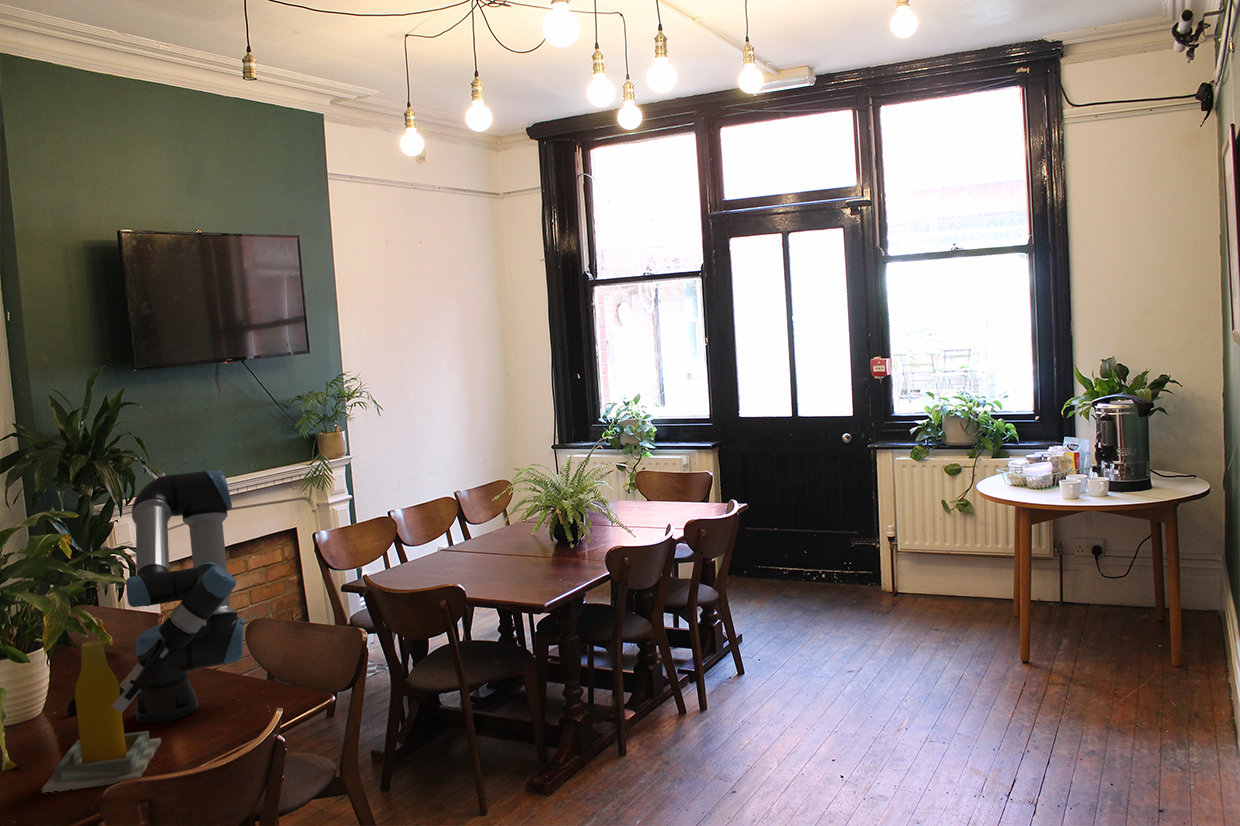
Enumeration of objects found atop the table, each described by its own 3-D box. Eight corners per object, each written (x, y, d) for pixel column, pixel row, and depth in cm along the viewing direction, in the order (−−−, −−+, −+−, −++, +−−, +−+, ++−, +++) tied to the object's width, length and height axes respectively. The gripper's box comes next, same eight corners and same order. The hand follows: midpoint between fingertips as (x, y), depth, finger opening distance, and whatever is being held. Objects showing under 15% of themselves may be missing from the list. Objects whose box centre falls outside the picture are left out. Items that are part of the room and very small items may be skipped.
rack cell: (72, 754, 231) (71, 737, 231) (161, 742, 236) (159, 726, 235) (42, 793, 212) (40, 775, 212) (139, 779, 216) (137, 762, 216)
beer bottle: (79, 761, 225) (66, 643, 222) (122, 748, 230) (110, 633, 227) (86, 775, 217) (72, 653, 214) (130, 762, 223) (117, 643, 220)
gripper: (193, 649, 217) (128, 727, 213) (198, 619, 240) (140, 688, 236) (164, 631, 214) (99, 709, 211) (172, 602, 238) (113, 672, 234)
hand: (120, 698), depth 224 cm, fingers open, 13 cm apart
